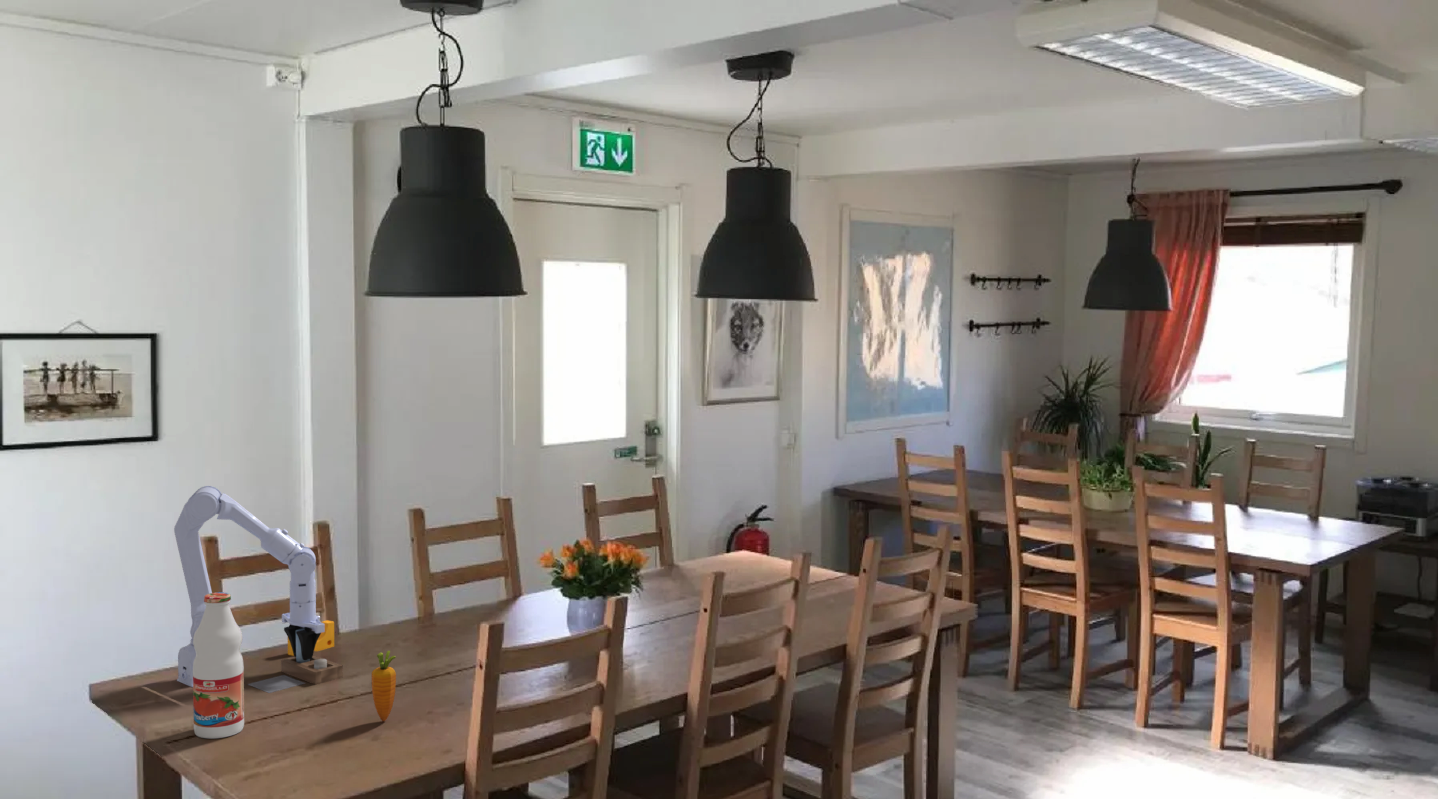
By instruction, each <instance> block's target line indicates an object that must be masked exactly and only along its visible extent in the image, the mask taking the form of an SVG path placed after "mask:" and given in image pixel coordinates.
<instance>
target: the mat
mask: <svg viewBox="0 0 1438 799" xmlns="http://www.w3.org/2000/svg"><path fill="white" fill-rule="evenodd" d="M305 684H306V682H305V681H301V680H298V679H295V678H293V677H291V676H289V675H285V674H282V675H278V676H273V677H270V678H267V679H263V680H258V681H254V682H251V683H247V685H248V686H250V687H253V688H255V689H257V690H260V691H263V692H265V693H267V694H272V693H276V692H279V691H282V690H286V689H290V688H294V687H298V686H302V685H305Z"/></svg>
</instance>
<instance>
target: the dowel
mask: <svg viewBox="0 0 1438 799" xmlns="http://www.w3.org/2000/svg"><path fill="white" fill-rule="evenodd" d="M300 630H304V629H298V630H296V631H300ZM308 661H310V659H308V660H303V658H302V653H301V645H300V641H299V638H298V636H297V634H296V662H298V663H304V662H308Z"/></svg>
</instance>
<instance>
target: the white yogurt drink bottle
mask: <svg viewBox="0 0 1438 799" xmlns="http://www.w3.org/2000/svg"><path fill="white" fill-rule="evenodd" d="M231 600H232V597H231V594H230V593H229V592H225V591H224V592H220V591H218V592H212V593H210V594H207V595H205V597H204V602H205V603H204V604H205V605H206V609H205V612H204V615H203V618H202V620H201V623H200V625H199V627H198V629H197V630H196V632H195V634H194V638H193V644H194V648H195V651H196V657H195V659H194V663H193V687H192V691H193V692H192V696H193V697H192V700H193V701H192V702H193V732H194V734H195V736H196V737H198V738H200V739H201V738H202V739H212V740H213V739H222V738H227V737H231V736H234V735H237V734H239V733H240V732H242V731H243V730H244V727H245V688H244V687H245V684H244V682H245V680H244V679H245V678H244V677H245V676H244V675H245V673H244V671H245V667H244V659H243V655H242V653H241V647H242V643H243V631H242V629H241V628H240V626H239V625H238V623H237V622H236V620H235V618H234V615H233V613H232V610H231V606H230V604H231Z"/></svg>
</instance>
